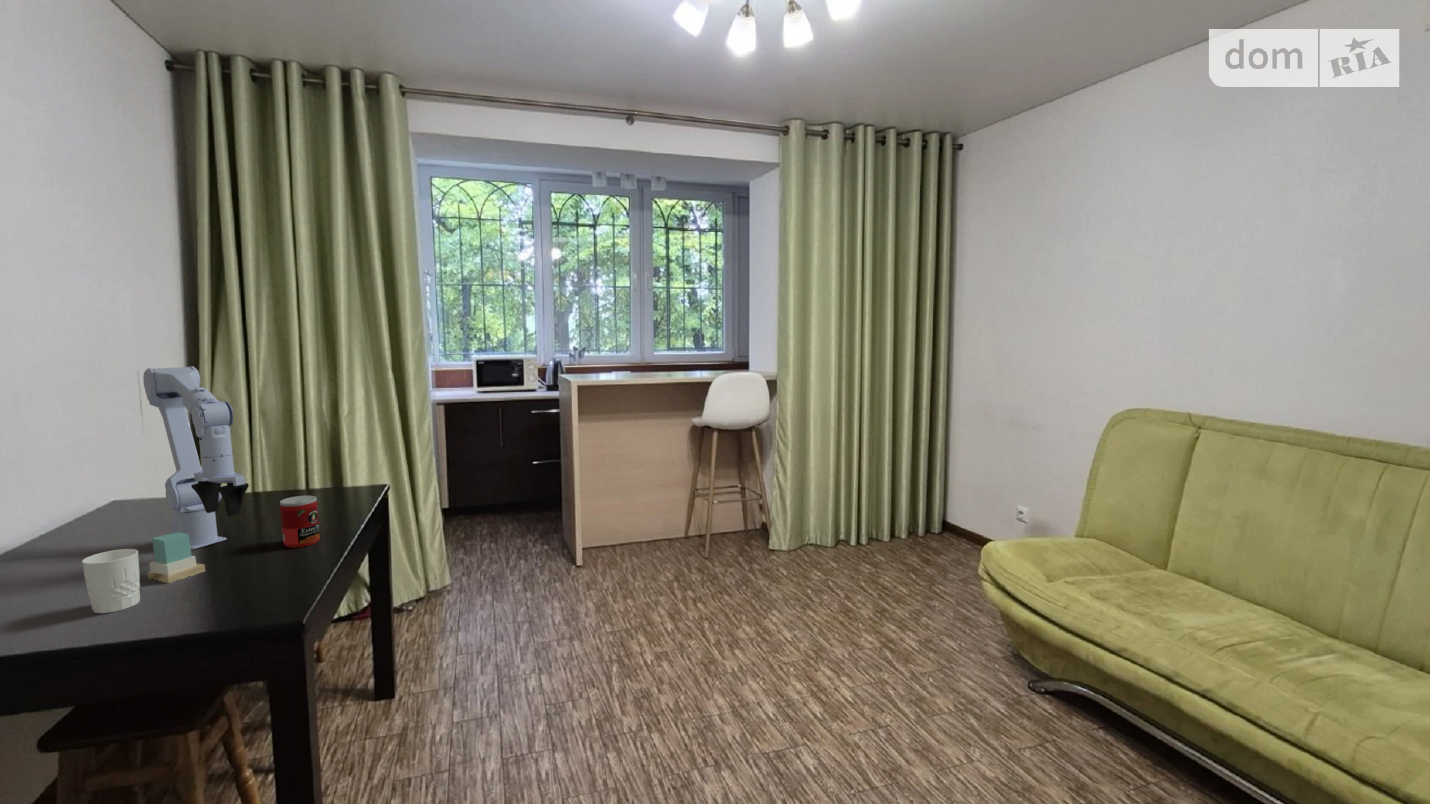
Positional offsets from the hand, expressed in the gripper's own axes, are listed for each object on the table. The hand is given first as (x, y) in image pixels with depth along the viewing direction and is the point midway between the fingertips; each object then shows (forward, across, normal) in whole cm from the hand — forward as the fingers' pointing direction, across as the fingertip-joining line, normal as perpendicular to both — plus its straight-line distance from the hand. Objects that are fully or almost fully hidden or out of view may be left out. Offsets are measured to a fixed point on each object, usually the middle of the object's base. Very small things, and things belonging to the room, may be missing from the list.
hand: (223, 513), depth 150 cm
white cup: (+11, +8, -25) cm, 28 cm away
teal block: (+7, +1, -11) cm, 13 cm away
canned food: (+11, +7, +13) cm, 18 cm away
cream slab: (+9, +1, -12) cm, 15 cm away
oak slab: (+11, +1, -11) cm, 16 cm away
